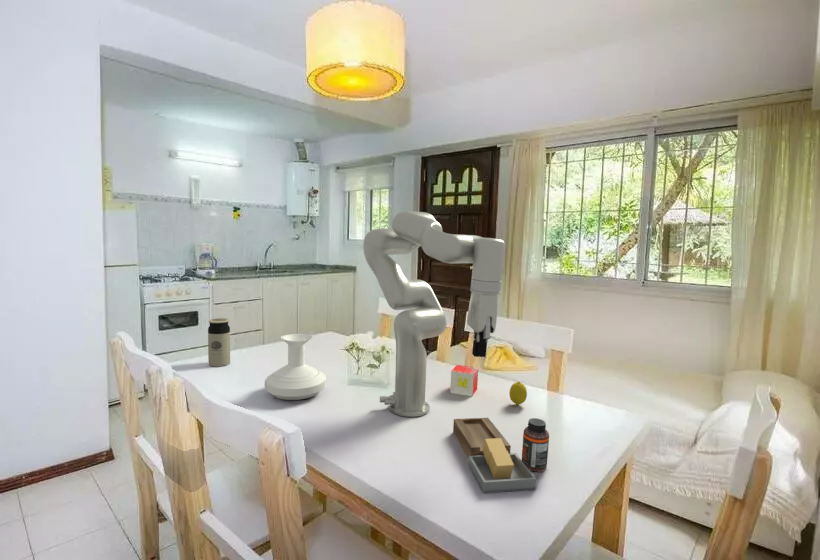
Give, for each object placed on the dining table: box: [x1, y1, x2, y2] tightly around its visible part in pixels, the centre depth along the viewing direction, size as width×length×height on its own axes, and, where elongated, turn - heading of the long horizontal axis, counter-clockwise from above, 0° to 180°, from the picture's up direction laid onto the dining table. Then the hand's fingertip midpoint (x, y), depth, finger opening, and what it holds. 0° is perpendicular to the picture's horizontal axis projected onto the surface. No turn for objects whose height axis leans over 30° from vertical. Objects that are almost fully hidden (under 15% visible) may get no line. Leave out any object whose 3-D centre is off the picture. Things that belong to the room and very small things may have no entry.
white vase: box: [264, 333, 327, 401], centre depth 143 cm, size 20×20×19 cm
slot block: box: [452, 417, 512, 459], centre depth 112 cm, size 10×16×4 cm, turn 10°
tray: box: [467, 452, 537, 494], centre depth 98 cm, size 12×11×2 cm
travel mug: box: [207, 317, 231, 368], centre depth 170 cm, size 8×8×18 cm
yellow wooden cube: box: [488, 451, 514, 479], centre depth 98 cm, size 4×4×4 cm
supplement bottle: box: [521, 417, 550, 473], centre depth 103 cm, size 6×6×11 cm
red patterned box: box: [449, 364, 479, 397], centre depth 151 cm, size 8×8×8 cm
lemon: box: [509, 381, 528, 406], centre depth 140 cm, size 6×6×8 cm
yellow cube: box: [483, 438, 507, 464], centre depth 101 cm, size 4×4×4 cm
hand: (478, 355), depth 112 cm, fingers closed
